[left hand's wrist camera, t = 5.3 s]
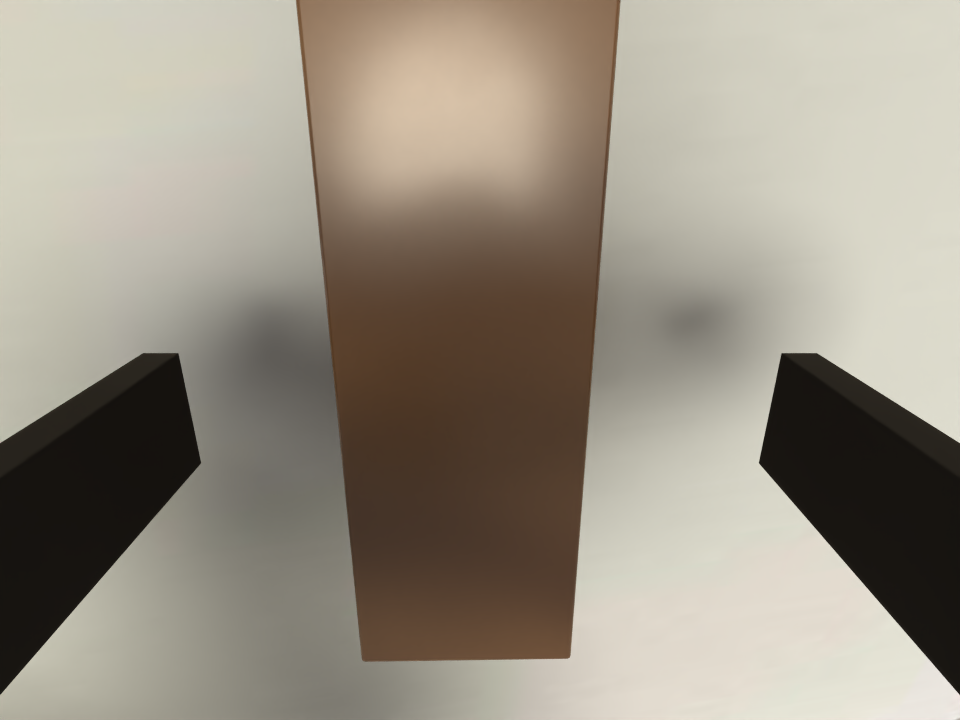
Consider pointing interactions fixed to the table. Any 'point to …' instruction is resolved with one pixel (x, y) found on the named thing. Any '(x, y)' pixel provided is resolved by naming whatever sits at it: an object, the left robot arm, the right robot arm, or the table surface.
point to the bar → (461, 305)
